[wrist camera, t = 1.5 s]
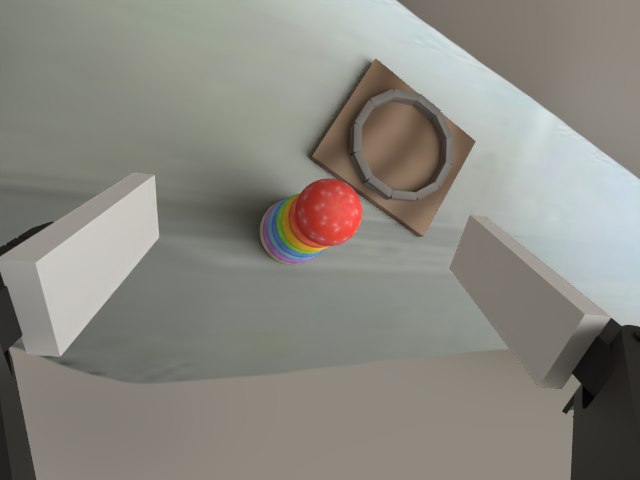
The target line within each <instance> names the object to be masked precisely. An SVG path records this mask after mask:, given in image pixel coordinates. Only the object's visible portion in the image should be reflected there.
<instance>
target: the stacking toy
mask: <svg viewBox="0 0 640 480" xmlns="http://www.w3.org/2000/svg"><path fill="white" fill-rule="evenodd" d="M361 219H362V205H361V202H360V199H359V197H358V195H357V193H356V192H355V191H354V189H353V188H352V187H350V186H349V185H348V184H346V183H344V182H342V181H340V180H336V179H321V180H318V181H315V182H313V183H311V184H310V185H308V186H307V187H306V188H305V189H304V190H303V191H302V192H301V193H299V194H296V195H294V196H291V197H288V198H286V199H283V200H280V201H278V202H276V203H275V204H273V205H272V206H271V207H270V208H269V209H268V210H267V211H266V213H265V214H264V216H263V218H262V220H261V224H260V239H261V242H262V245H263V247H264V248H265V250H266V251H267V253H268V254H269V255H270V256H271V257H272V258H274V259H275V260H277V261H278V262H281V263H284V264H288V265H298V264H302V263H305V262H307V261H309V260H311V259H313V258H314V257H316V256H317V255H318V254H319V253H321V252H322V251H324V250H325V249H326V248H327V247H329V246H334V245H338V244H341V243H343V242H345V241H347V240H348V239H350V238H351V237H352V236H353V235H354V234H355V232H356V231H357V230H358V227H359V225H360V223H361Z"/></svg>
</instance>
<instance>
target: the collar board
mask: <svg viewBox="0 0 640 480" xmlns="http://www.w3.org/2000/svg"><path fill="white" fill-rule="evenodd" d="M440 111H441V110H439V109H438V108H437V107H436V106H435V105H433V104H432V103H431V102H430V101H429V100H427V99H426V98H425V97H424V96H423V95H421V94H420V95H419V93H417V92H416V91H414V90H413V89H412V88H411V87H410V86H408V85H407V84H406V83H405V82H404V81H402V80H401V79H400V78H399V77H398V76H396V75H395V74H394V73H393V72H392V71H390V70H389V69H388V68H387V67H386V66H384V65H383V64H382V63H381V62H380V61H378V60H377V59H375V60H374V61H373V63H372V64H371V66H370V67H369V69H368V70H367V72H366V73H365V75H364V76H363V78H362V79H361V81H360V82H359V84H358V85H357V87H356V89H355V90H354V92H353V93H352V95H351V96H350V98H349V99H348V101H347V102H346V104H345V105H344V107H343V109H342V110H341V112H340V113H339V115H338V116H337V118H336V119H335V121H334V122H333V124H332V125H331V127H330V129H329V130H328V132H327V133H326V135H325V136H324V138H323V139H322V141H321V142H320V144H319V145H318V147H317V149H316V150H315V152H314V153H313V155H312V156H311V158H310V159H311V160H312V161H314V162H315V163H316V164H318V165H319V166H321V167H322V168H323V169H325V170H326V171H328V172H329V173H330V174H332V175H333V176H335V177H336V178H337V179H339V180H340V181H342V182H344V183H346V184H348V185H349V186H350V187H352V188H353V189H354V191H355V192H357V193H358V194H360V195H361V196H362V197H364V198H365V199H367V200H368V201H369V202H371V203H372V204H374V205H375V206H376V207H378V208H379V209H381V210H382V211H383V212H385V213H386V214H388V215H389V216H390V217H392V218H393V219H395V220H396V221H397V222H399V223H400V224H401V225H403V226H404V227H406V228H407V229H408V230H410V231H411V232H413V233H414V234H415V235H417V236H418V237H422V236H424V235H425V233H426V231H427V229H428V227H429V226H430V224H431V222H432V220H433V218H434V216H435V215H436V213H437V211H438V209H439V207H440V206H441V204H442V202H443V200H444V198H445V196H446V195H447V193H448V191H449V189H450V187H451V185H452V184H453V182H454V180H455V178H456V176H457V174H458V173H459V171H460V169H461V167H462V165H463V163H464V162H465V160H466V158H467V156H468V154H469V153H470V151H471V149H472V147H473V145H474V143H475V142H476V141H475V140H473V139H472V138H471V137H470V136H469V135H467V134H466V133H465V132H464V131H463V130H461V129H460V128H459V127H458V126H457V125H455V124H454V123H453V122H452V121H451V120H449V119H448V118H447V117H446V116H445V115H443V114H442V112H440Z"/></svg>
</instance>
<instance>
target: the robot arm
mask: <svg viewBox="0 0 640 480" xmlns="http://www.w3.org/2000/svg"><path fill="white" fill-rule="evenodd" d="M158 238H159V230H158V216H157V202H156V188H155V175H153V174H145V173H137V172H133V173H132V174H130V175H129V176H127V177H125V178H124V179H122V180H121V181H119V182H117V183H116V184H114V185H113V186H111V187H110V188H108V189H106V190H105V191H103V192H102V193H100V194H98V195H97V196H95V197H94V198H92V199H91V200H89V201H87V202H86V203H84V204H83V205H81V206H79V207H78V208H76V209H75V210H73V211H72V212H70V213H68V214H67V215H65V216H64V217H62V218H60V219H59V220H57V221H56V222H49V223H46V224H43V225H40V226H37V227H34V228H32V229H30V230H28V231H27V232H25V233H23V234H22V235H20V236H18V238H15V239H13V240H12V241H10V242H8V243H7V245H6V246H5V245H3V246H2V247H0V480H36V476H35V471H34V466H33V461H32V456H31V451H30V446H29V441H28V436H27V431H26V426H25V421H24V416H23V411H22V406H21V401H20V396H19V391H18V386H17V381H16V376H15V371H14V366H13V361H12V357H11V354H10V351H9V348H10V347H11V346H12V345H13V344H14V343H15V342H16V341H17V340H18V339H19V338H20V337H22V340H23V343H24V346H25V349H26V352H27V354H28V355H43V356H59V357H60V356H61V355H62V354H63V353H64V352H65V350H66V349H67V348H68V347H69V346H70V344H71V343H72V342H73V341H74V340H75V338H76V337H77V336H78V335H79V334H80V332H81V331H82V330H83V329H84V327H85V326H86V325H87V324H88V323H89V321H90V320H91V319H92V318H93V317H94V315H95V314H96V313H97V312H98V311H99V309H100V308H101V307H102V306H103V305H104V303H105V302H106V301H107V300H108V299H109V297H110V296H111V295H112V294H113V292H114V291H115V290H116V289H117V288H118V286H119V285H120V284H121V283H122V282H123V280H124V279H125V278H126V277H127V276H128V274H129V273H130V272H131V271H132V270H133V268H134V267H135V266H136V265H137V263H138V262H139V261H140V260H141V259H142V257H143V256H144V255H145V254H146V253H147V251H148V250H149V249H150V248H151V247H152V245H153V244H154V243H155V242H156V241H157V239H158ZM450 269H451V271H452V272H453V273H454V275H455V276H456V277H457V279H458V280H459V282H460V283H461V284H462V286H463V287H464V288H465V290H466V291H467V292H468V294H469V295H470V296H471V298H472V299H473V300H474V302H475V303H476V304H477V306H478V307H479V308H480V310H481V311H482V312H483V314H484V315H485V316H486V318H487V319H488V320H489V322H490V323H491V325H492V326H493V327H494V329H495V330H496V331H497V333H498V334H499V335H500V337H501V338H502V339H503V341H504V342H505V343H506V345H507V346H508V347H509V349H510V350H511V351H512V353H513V354H514V355H515V357H516V358H517V359H518V361H519V362H520V363H521V365H522V366H523V367H524V369H525V370H526V371H527V373H528V374H529V375H530V377H531V378H532V380H533V381H534V382H535V384H536V385H537V386H538V388H554V389H562V388H563V387H564V385H565V383H566V382H567V381H568V379H569V378H570V376H571V375H572V374H573V375H574V376H575V377H576V378H577V379H578V380H579V382H580V383H581V385H580V386H579V388H578V389H577V390H576V392H575V393H574V395H573V396H572V398H571V399H570V400H569V402H568V403H567V404H566V406H565V407H564V409H563V411H562V412H564V413H566V414H567V412H568V411H569V410H573V409H574V416H573V418H574V420H573V441H572V442H573V443H572V463H571V480H640V327H638V326H633V325H624V326H621V325H619V324H618V323H617V322H616V321H614V320H613V319H612V318H611V316H610V315H609V314H607V313H606V312H605V311H604V310H602V309H601V308H600V307H599V306H597V305H596V304H595V303H594V302H592V301H591V300H590V299H589V298H587V297H586V296H585V295H584V294H582V293H581V292H580V291H579V290H577V289H576V288H575V287H574V286H572V285H571V284H570V283H569V282H567V281H566V280H565V279H564V278H562V277H561V276H560V275H559V274H557V273H556V272H555V271H554V270H552V269H551V268H550V267H549V266H547V265H546V264H545V263H544V262H542V261H541V260H540V259H539V258H537V257H536V256H535V255H534V254H532V253H531V252H530V251H529V250H527V249H526V248H525V247H524V246H522V245H521V244H520V243H519V242H517V241H516V240H515V239H514V238H512V237H511V236H510V235H509V234H507V233H506V232H505V231H504V230H502V229H501V228H500V227H499V226H497V225H496V224H495V223H494V222H492V221H491V220H490V219H489V218H487V217H485V216H477V215H470V216H469V219H468V221H467V224H466V226H465V229H464V232H463V234H462V237H461V240H460V242H459V245H458V248H457V250H456V253H455V255H454V258H453V261H452V263H451V266H450Z"/></svg>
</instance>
